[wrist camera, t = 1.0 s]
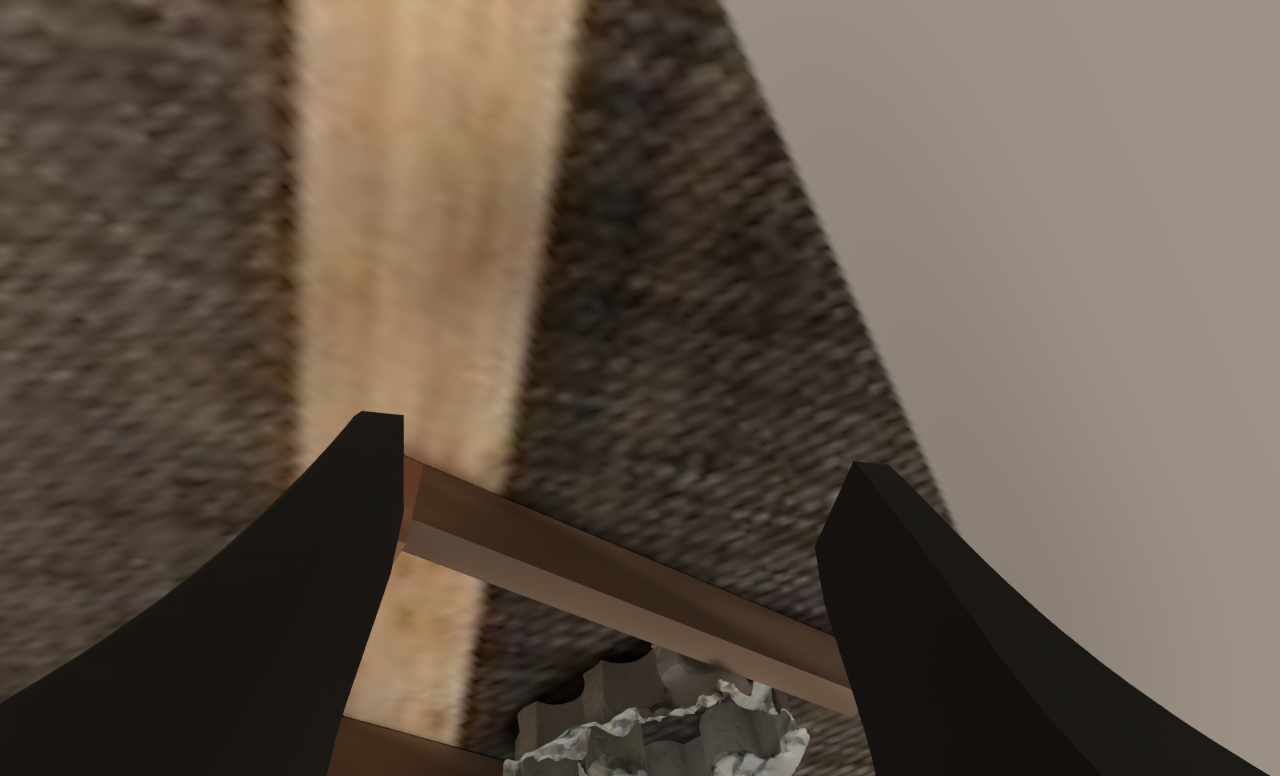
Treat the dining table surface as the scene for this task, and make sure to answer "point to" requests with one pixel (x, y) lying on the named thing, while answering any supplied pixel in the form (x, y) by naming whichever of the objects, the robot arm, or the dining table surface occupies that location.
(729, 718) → the egg carton
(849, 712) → the channel
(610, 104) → the dining table surface
